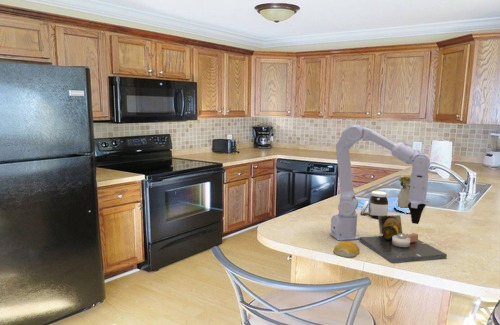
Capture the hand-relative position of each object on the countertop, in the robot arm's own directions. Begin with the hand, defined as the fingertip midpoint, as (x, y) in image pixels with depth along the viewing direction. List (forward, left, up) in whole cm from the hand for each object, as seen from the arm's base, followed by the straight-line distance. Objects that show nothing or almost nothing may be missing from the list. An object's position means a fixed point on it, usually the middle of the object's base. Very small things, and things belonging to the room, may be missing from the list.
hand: (415, 223), depth 137 cm
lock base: (-6, -1, -9) cm, 11 cm away
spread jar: (+8, +40, -9) cm, 41 cm away
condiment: (-1, +13, -4) cm, 14 cm away
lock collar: (-4, 0, -7) cm, 8 cm away
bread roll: (-27, -1, -9) cm, 29 cm away
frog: (+30, +45, -9) cm, 55 cm away
